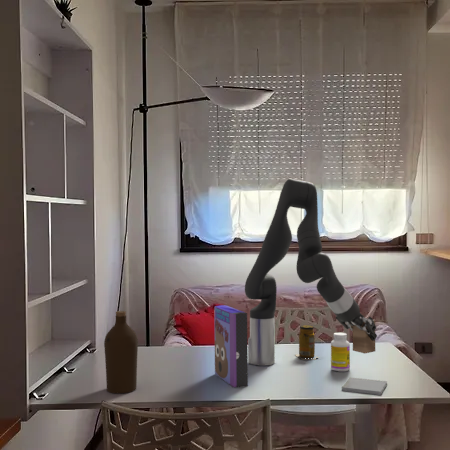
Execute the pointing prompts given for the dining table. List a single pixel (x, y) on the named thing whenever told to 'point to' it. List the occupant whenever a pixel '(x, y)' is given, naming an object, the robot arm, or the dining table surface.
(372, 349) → the walnut block
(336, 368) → the supplement bottle
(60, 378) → the dining table surface
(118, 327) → the olive oil
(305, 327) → the condiment
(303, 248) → the robot arm
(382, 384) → the slate tile
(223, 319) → the cereal box
